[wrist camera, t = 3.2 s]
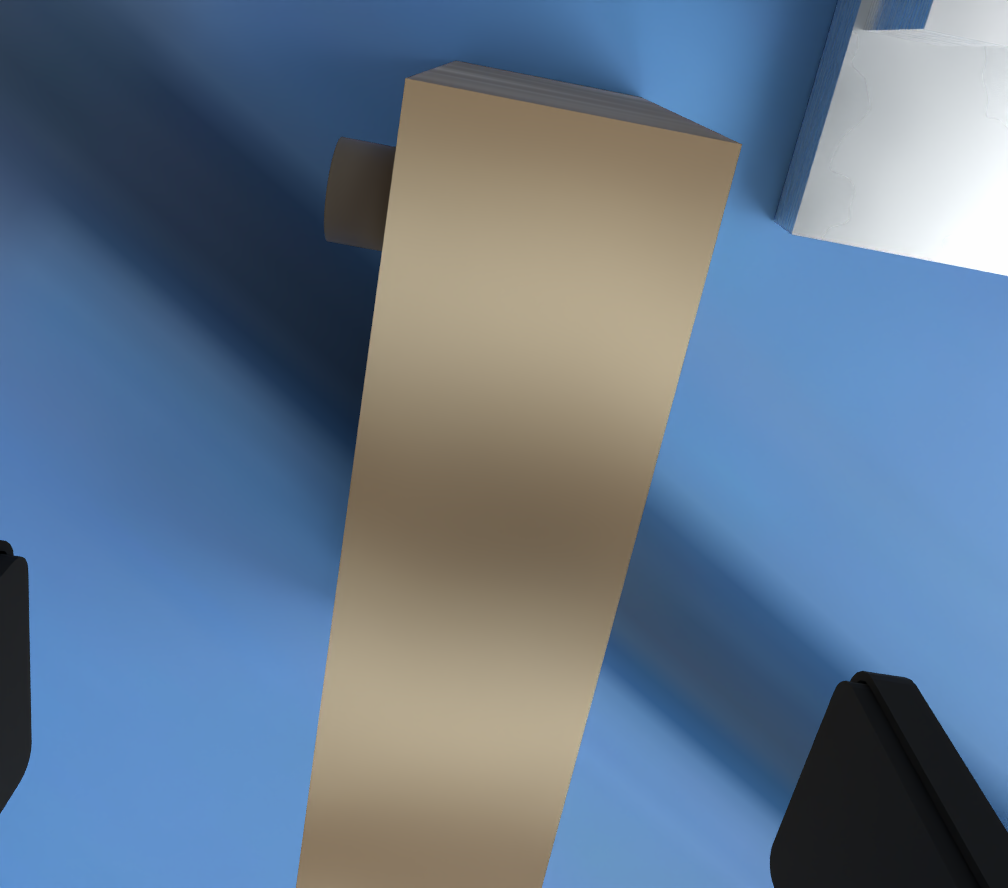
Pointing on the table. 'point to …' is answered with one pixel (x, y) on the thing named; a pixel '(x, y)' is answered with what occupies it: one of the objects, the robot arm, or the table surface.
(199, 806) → the table surface
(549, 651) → the door
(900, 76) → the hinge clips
